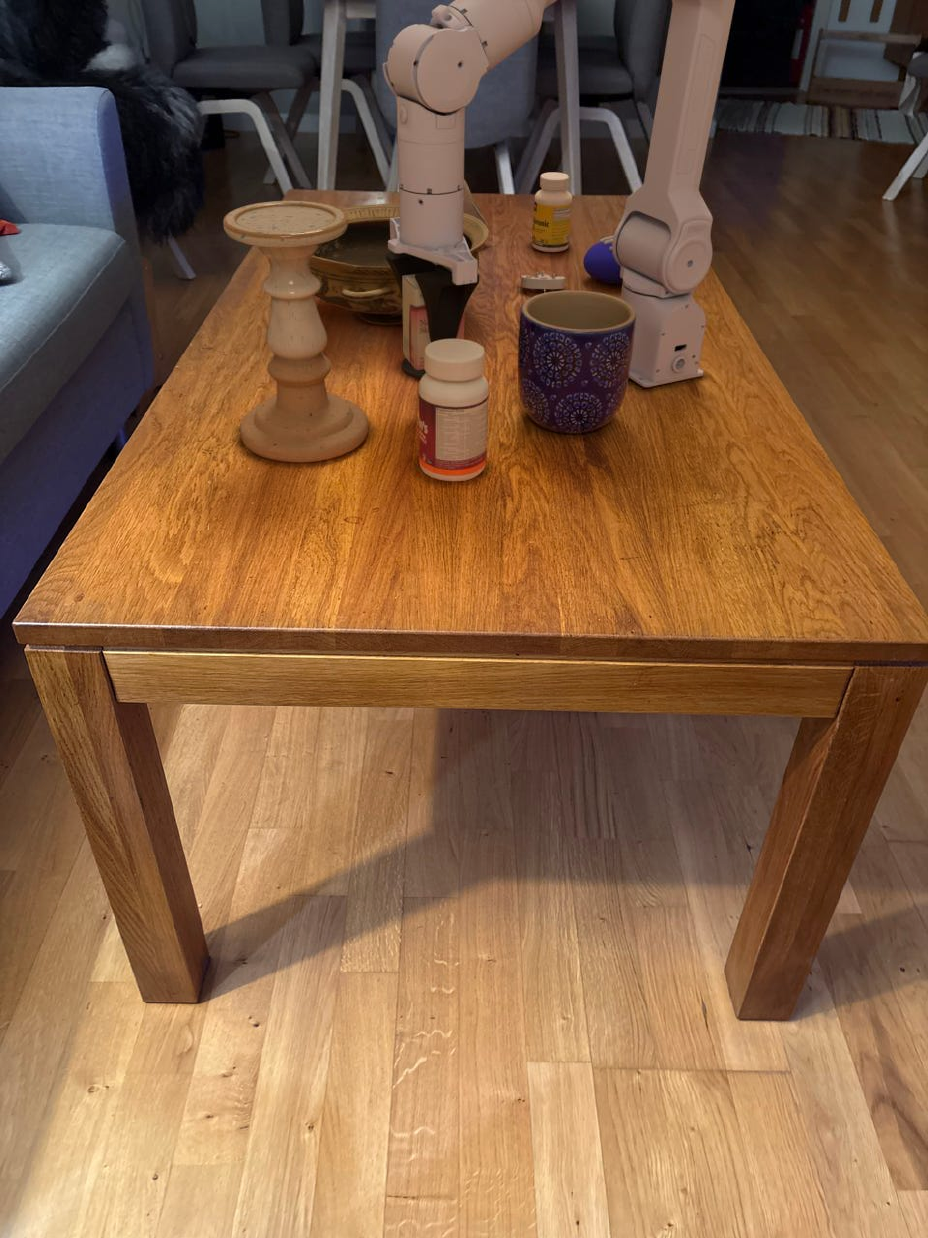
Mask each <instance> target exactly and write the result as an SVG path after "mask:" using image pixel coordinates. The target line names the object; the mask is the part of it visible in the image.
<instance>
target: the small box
mask: <svg viewBox="0 0 928 1238" xmlns="http://www.w3.org/2000/svg"><path fill="white" fill-rule="evenodd" d="M402 285H403V324H402V345H403V346H402V347H403V348H402V349H403V351H402V352H403V355H404V358H407V359H408V361H409V362H410V363H411V364H412V366H413V367H414V368H415V369H416V370H422V369H424V362H425V348H426V346H427V345H428V344H430V343H431V340H430V335H429V327H428V317H427V311H426V306H425V302H424V298H423V295H422V292H421V290H420V287H419V285H418V283H417V281H416V279H415V274H414V275H403V276H402ZM465 311H466V309H465V310H464V313H463V316H462V319H461V323H460V327H459V330H458V334H457V338H456V339H464V340H465V314H466V313H465Z"/></svg>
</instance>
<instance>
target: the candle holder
mask: <svg viewBox="0 0 928 1238" xmlns="http://www.w3.org/2000/svg"><path fill="white" fill-rule="evenodd" d="M338 208H339V207H337V206H334V205H330V204H326V203H321V202H314V201H308V200H307V201H306V200H274V201H273V200H272V201H265V202H263V201H262V202H257V203H253V204H247V205H245V206H241V207H237V208H235V209H233V210H231V211H230V212H228V213H227V214H225V216H224V217H223V220H222V226H223V230H224V232H225V235H226V236H227V237H228V238H230V239H232V240H234V241H236V242H239V243H242V244H245V245H249V246H253V247H257V249H258V250H259V252H260V253H261V254H262V255H264V256H265V257H266V258H267V261H268V263H269V268H270V271H269V276H268V277H267V278H266V279H265V280H264V282H263V284H262V289H263V292H264V293H265V294H267V295H268V296H269V297H270V313H269V321H268V325H267V330H266V336H265V341H266V345H267V349H269V351H270V352H271V353H272V354H274V355H273V356H272V358H271V359H270V360H269V362H268V363H267V367H266V371H267V372H268V375H269V377H271V378H273V380H274V381H275V382H276V394H274V395H272V396H270V397H268V398H266V399H265V400H263V401H262V402H261V403H259V404H257V405H255V406H254V407H252V408H251V409H249V411H248V412H246V413H245V415H244V416H243V417H242V419H241V421H240V426H239V434H240V438H241V441H242V443H243V444H244V446H245V447H246V448H247V449H249V451H251V452H252V453H254V454H256V455H257V456H260V457H262V458H266V459H269V460H274V461H278V462H284V463H314V462H322V461H327V460H332V459H335V458H338V457H341V456H343V455H347V454H348V453H350V452H352V451H354V450H356V448H358V447H359V446H361V444H363V443H364V441H366V439H367V437H368V434H369V429H370V425H369V423H370V422H369V418H368V416H367V414H366V412H365V411H364V410H363V409H362V408H361V407H360V406H358V405H357V404H356V403H354V402H352V401H351V400H348V399H346V398H343V397H341V396H339V395H337V394H335V393H333V392H329V391H327V388H326V382H325V379H326V378H327V377H328V375H329V374H330V372H331V370H332V363H331V361H330V360H329V359H328V357H326V356H325V355H324V353H323V351H324V349H325V348H326V347H327V343H328V335H327V332H326V328H325V326H324V324H323V322H322V319H321V316H320V313H319V309H318V306H317V301H316V296H315V295H314V294H316V293H317V292H318V291H319V290H320V287H321V284H320V281H319V280H318V279H317V278H316V277H315V276H314V275H313V274H312V273H311V270H310V259H311V255H312V254H313V253H314V252H315V251H316V250H317V247H318V245H319V244H321V243H325V242H328V241H331V240H333V239H335V238H337V237H339V236H341V235H342V234H344V233H345V232H346V229H347V227H348V219H347V215H346V214H345V213H344V212H343V211H342V210H340V209H338Z"/></svg>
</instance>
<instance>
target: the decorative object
mask: <svg viewBox="0 0 928 1238" xmlns="http://www.w3.org/2000/svg"><path fill="white" fill-rule="evenodd" d="M613 237H614V235H610V236H606V237H603V238H601V239H600V240H599V241H598V242H597V243H595V244H593V245H591V247H590V248H589V249H588V250H587V251H586V253H584V256H583V260H582V263H583V264H582V265H583V268H584V271H585V272H586V274H587V275H589V277H591V278H592V279H594V280H596V281H599V282H602V283H607V284H613V285H614V284H615V285H616V284H620V285H622V284H623V279H622V278H621V277H620V271H621V266H619V265H618V263H617V262H616V261H615V259H614V256H613V252H612V242H613Z"/></svg>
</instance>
